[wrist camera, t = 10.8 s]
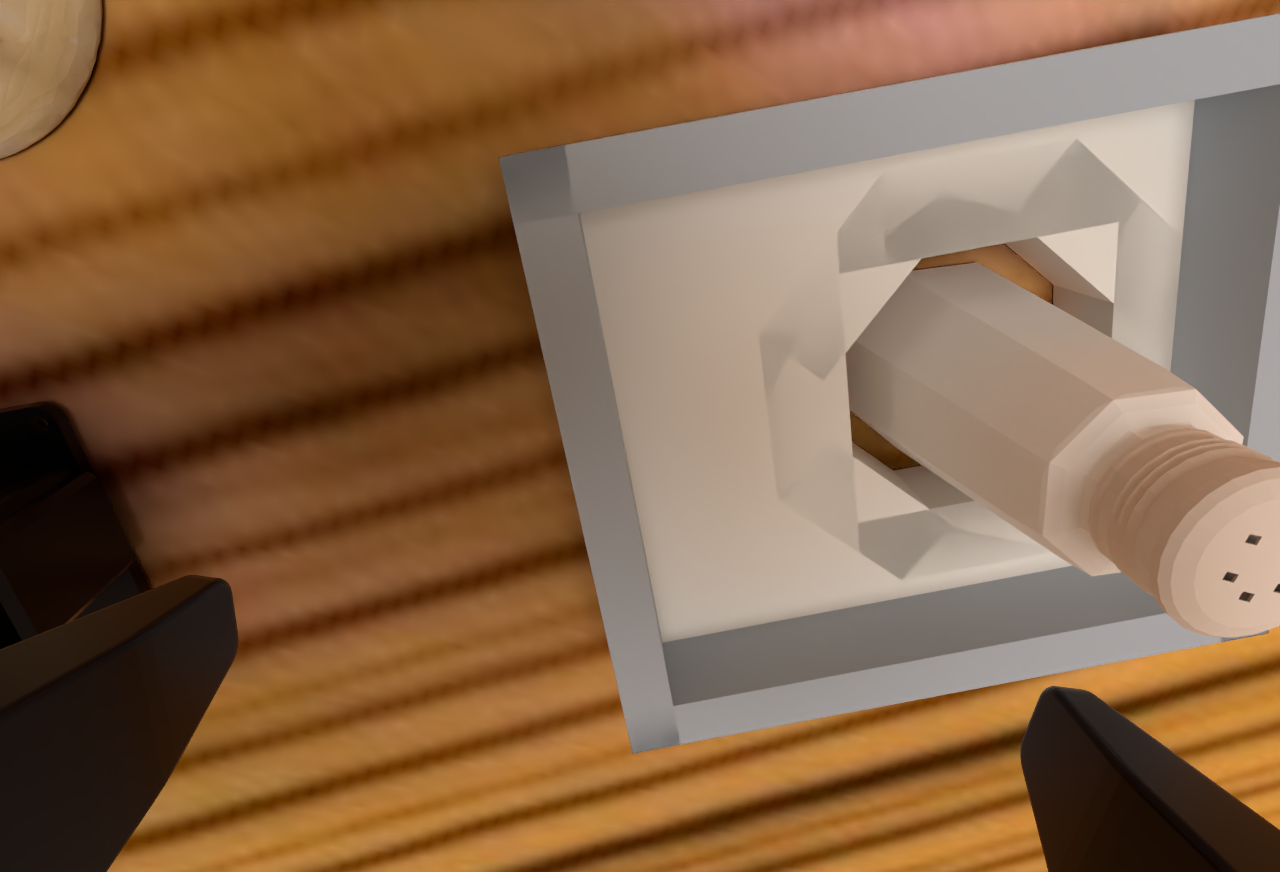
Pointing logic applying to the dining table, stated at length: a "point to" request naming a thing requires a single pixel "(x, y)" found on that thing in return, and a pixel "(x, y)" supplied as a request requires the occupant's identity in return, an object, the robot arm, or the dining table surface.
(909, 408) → the pepper shaker
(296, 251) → the dining table surface
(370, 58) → the dining table surface
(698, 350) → the bore box
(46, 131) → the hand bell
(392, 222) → the dining table surface
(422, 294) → the dining table surface
